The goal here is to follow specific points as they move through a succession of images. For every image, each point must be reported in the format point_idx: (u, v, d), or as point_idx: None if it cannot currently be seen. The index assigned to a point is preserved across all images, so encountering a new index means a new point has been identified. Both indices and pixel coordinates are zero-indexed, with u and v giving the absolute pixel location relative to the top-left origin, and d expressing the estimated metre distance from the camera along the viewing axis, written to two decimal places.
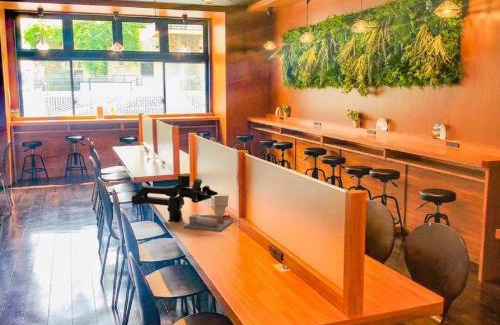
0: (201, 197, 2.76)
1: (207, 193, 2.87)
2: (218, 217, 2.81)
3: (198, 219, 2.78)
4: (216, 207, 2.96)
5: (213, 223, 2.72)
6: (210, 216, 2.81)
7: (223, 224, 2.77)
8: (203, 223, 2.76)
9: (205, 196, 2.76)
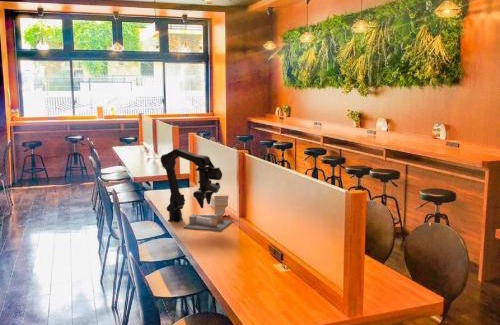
0: (200, 199, 2.72)
1: (207, 192, 2.82)
2: (218, 217, 2.81)
3: (198, 219, 2.78)
4: (216, 207, 2.96)
5: (213, 223, 2.72)
6: (210, 216, 2.81)
7: (223, 224, 2.77)
8: (203, 223, 2.76)
9: (201, 203, 2.72)
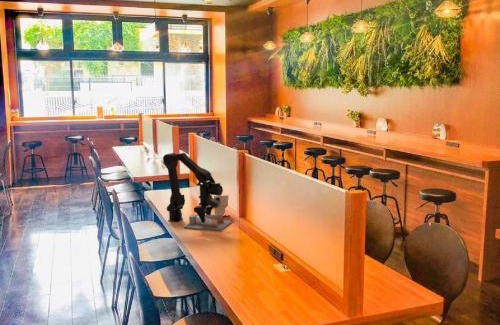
0: (201, 213, 2.74)
1: (207, 207, 2.83)
2: (218, 217, 2.81)
3: (198, 219, 2.78)
4: None
5: (213, 223, 2.72)
6: (210, 216, 2.81)
7: (223, 224, 2.77)
8: (203, 223, 2.76)
9: (202, 217, 2.74)
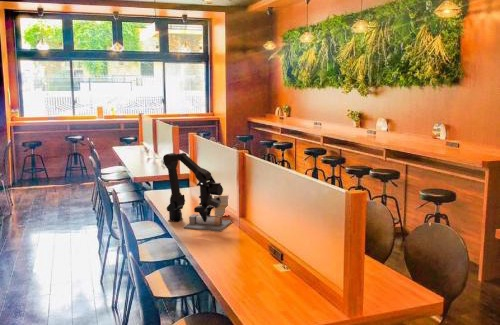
0: (202, 213, 2.76)
1: (206, 208, 2.81)
2: None
3: (199, 219, 2.78)
4: None
5: (216, 221, 2.75)
6: None
7: (223, 224, 2.77)
8: (205, 222, 2.78)
9: (204, 217, 2.76)
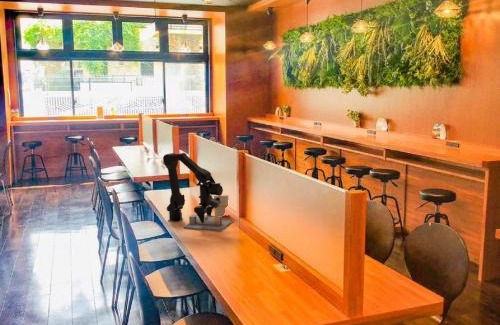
0: (200, 214, 2.73)
1: (208, 207, 2.83)
2: None
3: (199, 219, 2.78)
4: None
5: (216, 221, 2.75)
6: None
7: (223, 224, 2.77)
8: (205, 222, 2.78)
9: (202, 218, 2.74)
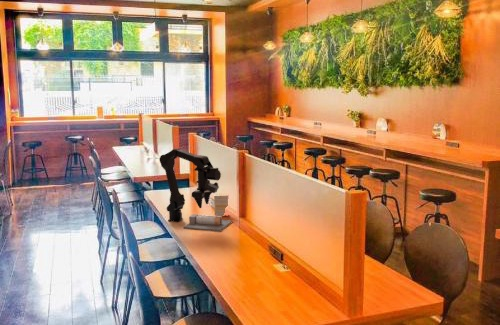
0: (198, 198, 2.72)
1: (205, 192, 2.83)
2: None
3: (199, 219, 2.78)
4: (216, 207, 2.96)
5: (216, 221, 2.75)
6: None
7: (223, 224, 2.77)
8: (205, 222, 2.78)
9: (199, 203, 2.73)
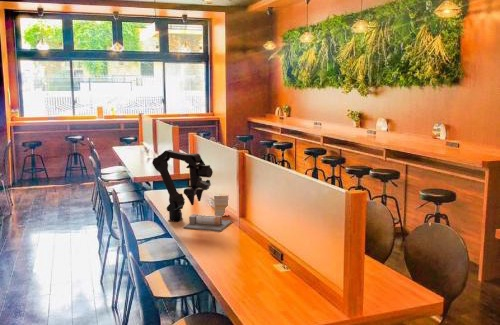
0: (190, 196, 2.75)
1: (198, 189, 2.85)
2: None
3: (199, 219, 2.78)
4: (216, 207, 2.96)
5: (216, 221, 2.75)
6: None
7: (223, 224, 2.77)
8: (205, 222, 2.78)
9: (191, 200, 2.75)
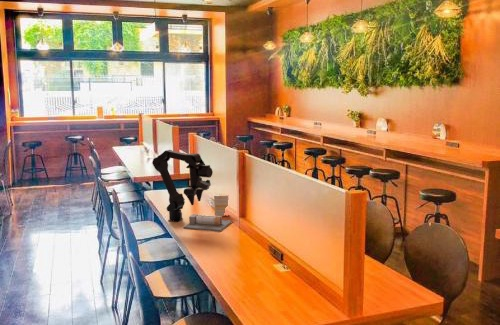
0: (190, 196, 2.75)
1: (198, 189, 2.85)
2: None
3: (199, 219, 2.78)
4: (216, 207, 2.96)
5: (216, 221, 2.75)
6: None
7: (223, 224, 2.77)
8: (205, 222, 2.78)
9: (191, 200, 2.75)
